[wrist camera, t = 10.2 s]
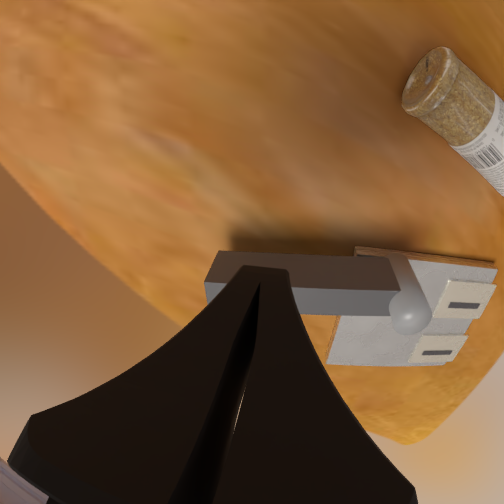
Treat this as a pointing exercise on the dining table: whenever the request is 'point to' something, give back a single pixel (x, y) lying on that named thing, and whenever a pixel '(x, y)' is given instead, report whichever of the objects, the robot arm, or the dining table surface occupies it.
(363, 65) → the dining table surface
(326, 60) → the dining table surface
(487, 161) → the sprinkles bottle
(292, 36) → the dining table surface
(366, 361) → the chassis plate
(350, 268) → the grey knobbed handle
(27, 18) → the dining table surface
